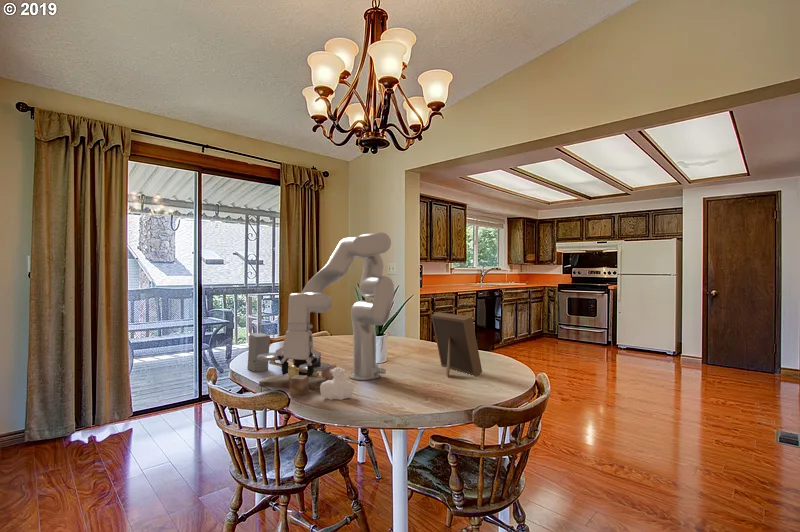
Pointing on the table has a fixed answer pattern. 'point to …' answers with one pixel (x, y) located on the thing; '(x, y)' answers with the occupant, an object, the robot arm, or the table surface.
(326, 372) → the peach rounded egg
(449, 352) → the photo frame
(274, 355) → the balance
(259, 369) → the skincare box
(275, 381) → the balance base
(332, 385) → the bust
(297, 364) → the coffee mug
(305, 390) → the walnut block
